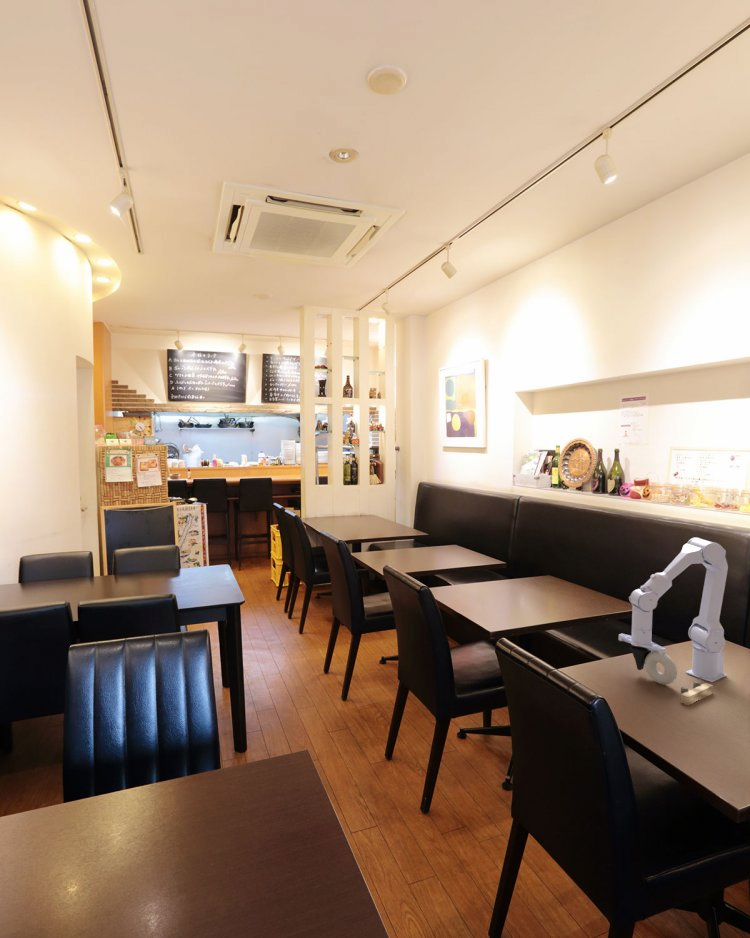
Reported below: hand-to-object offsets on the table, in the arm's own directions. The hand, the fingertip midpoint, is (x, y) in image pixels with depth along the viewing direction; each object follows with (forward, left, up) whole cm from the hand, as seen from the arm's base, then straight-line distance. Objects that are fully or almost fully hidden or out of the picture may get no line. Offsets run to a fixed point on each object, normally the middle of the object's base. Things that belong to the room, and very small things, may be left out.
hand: (640, 669), depth 168 cm
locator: (0, +17, -2) cm, 17 cm away
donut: (0, +6, -2) cm, 7 cm away
